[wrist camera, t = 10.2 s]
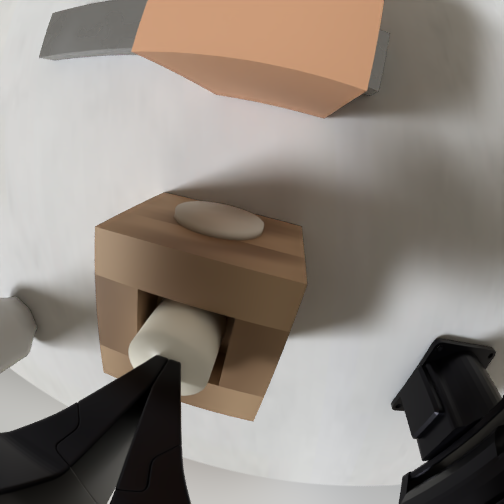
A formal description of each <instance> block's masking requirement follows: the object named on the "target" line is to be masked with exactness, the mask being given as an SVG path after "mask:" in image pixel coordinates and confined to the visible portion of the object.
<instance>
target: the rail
mask: <svg viewBox="0 0 504 504" xmlns="http://www.w3.org/2000/svg"><path fill="white" fill-rule="evenodd" d="M147 1H148V0H111V1H105V2H99V3H94V4H89V5H84V6H79V7H75V8H71V9H67V10H63V11H59V12H55V13H53V14H52V17H51V20H50V22H49V25H48V28H47V32H46V35H45V38H44V41H43V45H42V48H41V52H40V56H39V58H44V59H50V60H62V59H70V58H79V57H91V56H106V55H138V54H135V53H133V52H131V51H132V47H133V44H134V40H135V37H136V34H137V30H138V27H139V24H140V21H141V18H142V15H143V12H144V9H145V6H146V4H147ZM389 36H390V33H388V32H386V31H383V30H380V29H379V34H378V40H377V45H376V50H375V55H374V60H373V65H372V70H371V75H370V79H369V84H368V89H367V91H366V92H364V94H366V95H369V96H370V95H372V94H374V93H376V92H378V91H379V87H380V83H381V78H382V73H383V68H384V63H385V58H386V53H387V47H388V42H389Z"/></svg>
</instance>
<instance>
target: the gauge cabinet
mask: <svg viewBox="0 0 504 504" xmlns="http://www.w3.org/2000/svg"><path fill="white" fill-rule="evenodd" d="M95 287H96V305H97V319H98V330H99V340H100V348H101V356H102V363H103V370H104V373H107V374H109V375H111V376H113V377H116V378H119V377H121V376H123V375H124V374H126V373H128V372H129V371H131V370H132V369H134V368H133V366H132V364H131V362H130V359H129V353H128V351H129V345H130V343H131V341H132V340H133V339H134V337H135V336H136V334H137V333H138V332H139V330H140V329H141V328H142V326H143V325H144V324H145V322H146V321H147V319H148V318H149V317H150V315H151V314H152V313H153V311H154V310H155V309H156V307H157V306H158V305H159V303H160V302H161V301H162V299H163V298H167V299H170V300H174V301H177V302H180V303H183V304H187V305H190V306H194V307H197V308H200V309H204V310H207V311H211V312H214V313H218V314H221V315H225V316H226V320H227V327H226V331H225V334H224V337H223V340H222V343H221V346H220V348H219V351H218V354H217V357H216V360H215V363H214V366H213V369H212V372H211V375H210V377H209V380H208V383H207V385H206V387H205V388H204V389H203V390H202V391H200V392H198V393H196V394H193V395H188V396H181V402H183V403H186V404H189V405H192V406H196V407H199V408H203V409H206V410H210V411H213V412H217V413H221V414H224V415H228V416H232V417H236V418H240V419H245V420H249V421H254V418H255V416H256V414H257V412H258V409H259V407H260V405H261V402H262V400H263V398H264V395H265V393H266V391H267V388H268V386H269V383H270V381H271V379H272V376H273V374H274V371H275V369H276V366H277V364H278V361H279V359H280V356H281V354H282V351H283V349H284V346H285V343H286V341H287V338H288V336H289V333H290V330H291V328H292V325H293V322H294V320H295V317H296V314H297V312H298V309H299V306H300V303H301V301H302V298H303V295H304V292H305V289H306V287H307V275H306V264H305V254H304V244H303V234H302V226H298V225H295V224H291V223H287V222H283V221H280V220H276V219H272V218H268V217H264V216H260V215H256V214H253V213H250V212H248V211H246V210H243V209H240V208H237V207H234V206H230V205H226V204H221V203H215V202H206V201H200V200H195V199H191V198H187V197H183V196H178V195H174V194H169V193H165V192H164V193H162V194H159V195H157V196H155V197H153V198H151V199H149V200H147V201H145V202H143V203H141V204H138V205H136V206H134V207H132V208H130V209H128V210H126V211H124V212H122V213H120V214H118V215H116V216H115V217H113V218H111V219H109V220H107V221H105V222H103V223H101V224H99V225H97V226H95Z"/></svg>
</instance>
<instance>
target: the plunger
mask: <svg viewBox="0 0 504 504" xmlns="http://www.w3.org/2000/svg"><path fill="white" fill-rule="evenodd" d="M226 327H227V320H226V316H225V315H221V314H218V313H214V312H211V311H207V310H204V309H200V308H197V307H194V306H190V305H187V304H183V303H180V302H177V301H174V300H170V299H167V298H163V299H162V301H161V302H160V303H159V305H158V306H157V307H156V309H155V310H154V311H153V313H152V314H151V315H150V317H149V318H148V319H147V321H146V322H145V324H144V325H143V326H142V328H141V329H140V330H139V332H138V333H137V334H136V336H135V337H134V339H133V340H132V341H131V343H130V345H129V351H128V353H129V359H130V362H131V364H132V366H133V368H136V367H137V366H139V365H141V364H142V363H144V362H146V361H147V360H149V359H150V358H152V357H154V356H155V355H160V356H163V357H166V358H168V359H172V360H175V361H178V362H180V363H181V396H188V395H193V394H196V393H198V392H200V391H202V390H203V389H204V388H205V387H206V385H207V383H208V380H209V377H210V375H211V372H212V369H213V366H214V363H215V360H216V357H217V354H218V351H219V348H220V346H221V343H222V340H223V337H224V334H225V331H226Z"/></svg>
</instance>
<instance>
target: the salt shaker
mask: <svg viewBox="0 0 504 504" xmlns="http://www.w3.org/2000/svg"><path fill="white" fill-rule="evenodd" d="M36 329H37V326H36V323H35V321H34V319H33V316H32V314H31V311H30V309H29V308H28V307H27V306H26V305H25V304H24V303H23V302H22V301H21V300H20V299H19V298H18V297H17V296H16V297H9V298H0V373H2V372H3V371H5V370H6V369H8V368H9V367H11V366H12V365H14V364H15V363H17V362H18V361H20V360H21V359H23V358H24V357H26V356H27V355H28V354H29V352H30V349H31V345H32V341H33V338H34V334H35V331H36Z"/></svg>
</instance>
